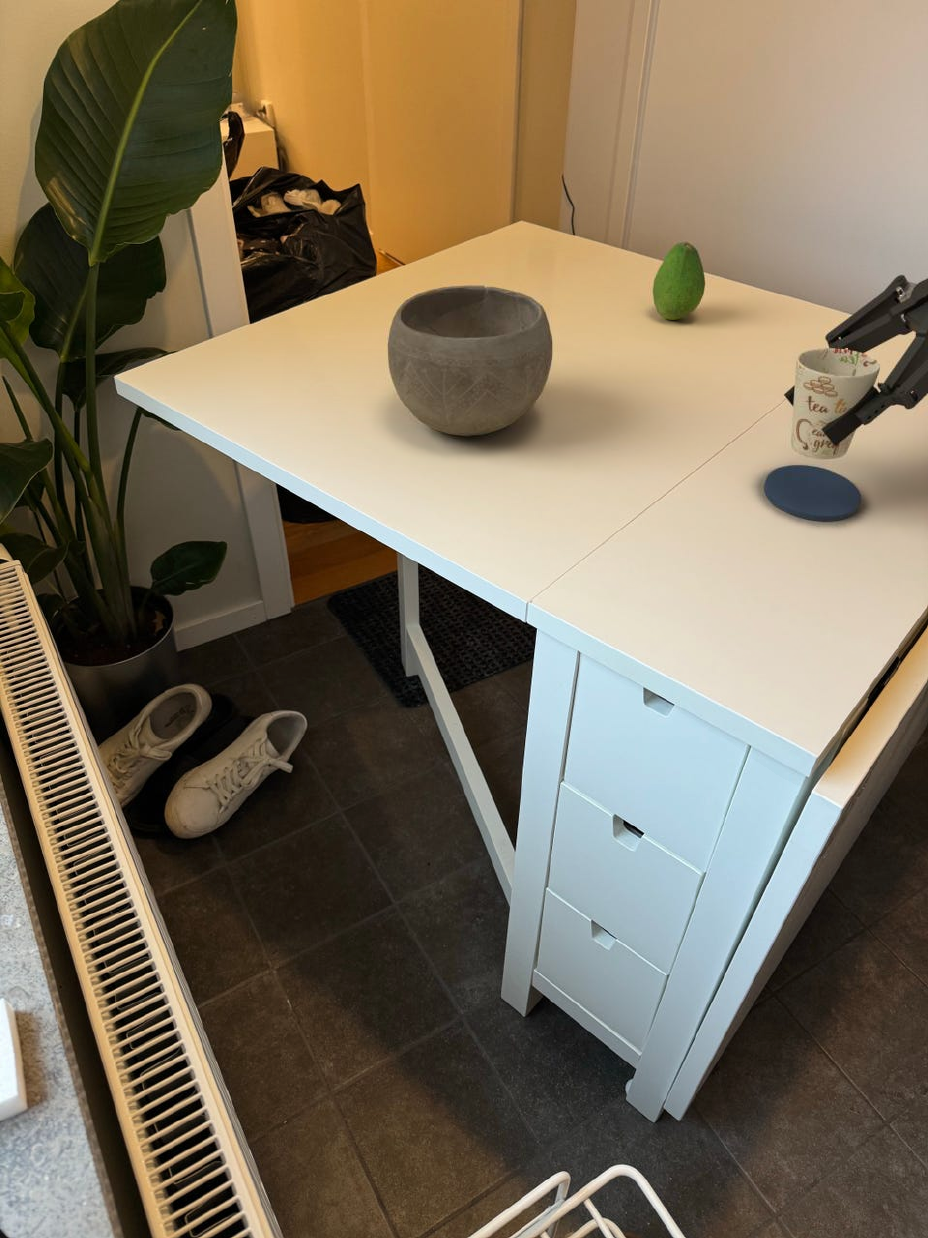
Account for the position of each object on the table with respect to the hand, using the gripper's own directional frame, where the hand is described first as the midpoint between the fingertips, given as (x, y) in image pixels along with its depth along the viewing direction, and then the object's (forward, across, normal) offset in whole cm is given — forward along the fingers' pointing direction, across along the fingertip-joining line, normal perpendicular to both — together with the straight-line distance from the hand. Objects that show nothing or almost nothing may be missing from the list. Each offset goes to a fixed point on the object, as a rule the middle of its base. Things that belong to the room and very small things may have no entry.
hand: (809, 419), depth 99 cm
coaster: (+5, 0, -10) cm, 11 cm away
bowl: (+30, +26, +15) cm, 43 cm away
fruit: (+1, +52, -14) cm, 54 cm away
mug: (0, 0, -5) cm, 5 cm away
